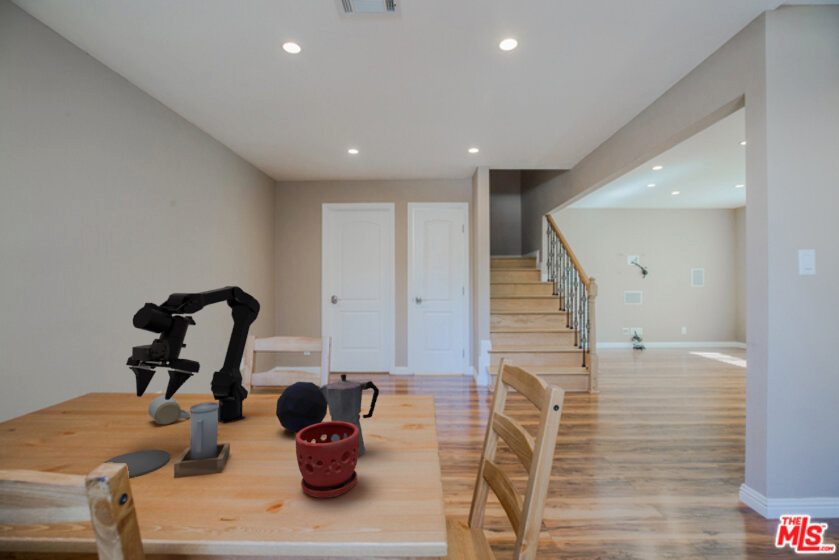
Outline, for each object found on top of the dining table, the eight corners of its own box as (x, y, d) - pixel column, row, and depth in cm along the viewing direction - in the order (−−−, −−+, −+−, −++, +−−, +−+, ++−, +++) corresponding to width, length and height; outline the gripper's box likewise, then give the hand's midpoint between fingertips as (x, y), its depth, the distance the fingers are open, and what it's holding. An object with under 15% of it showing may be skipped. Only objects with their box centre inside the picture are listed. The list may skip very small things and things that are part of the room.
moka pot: (321, 445, 105) (321, 370, 105) (378, 443, 106) (379, 369, 107) (314, 461, 95) (315, 378, 96) (378, 459, 97) (378, 377, 97)
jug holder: (186, 459, 96) (187, 446, 96) (229, 454, 99) (229, 442, 99) (174, 477, 87) (174, 463, 87) (221, 472, 90) (221, 458, 90)
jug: (193, 461, 95) (194, 403, 95) (220, 458, 97) (221, 401, 97) (183, 476, 88) (184, 413, 88) (213, 473, 89) (214, 411, 89)
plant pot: (320, 468, 92) (321, 417, 92) (370, 479, 87) (370, 425, 87) (281, 496, 80) (282, 436, 80) (335, 510, 75) (336, 447, 75)
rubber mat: (160, 448, 103) (160, 444, 103) (177, 464, 93) (177, 461, 93) (91, 465, 92) (91, 462, 92) (103, 486, 83) (103, 482, 83)
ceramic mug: (154, 428, 117) (155, 402, 117) (147, 421, 122) (148, 397, 123) (193, 420, 124) (194, 396, 125) (185, 414, 130) (186, 391, 130)
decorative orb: (261, 411, 117) (277, 375, 111) (305, 400, 128) (322, 367, 122) (280, 451, 109) (299, 415, 103) (325, 435, 121) (344, 402, 115)
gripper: (117, 329, 101) (94, 392, 95) (175, 332, 95) (153, 398, 90) (155, 338, 111) (135, 396, 105) (208, 341, 105) (191, 402, 100)
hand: (152, 398), depth 100 cm, fingers open, 9 cm apart
